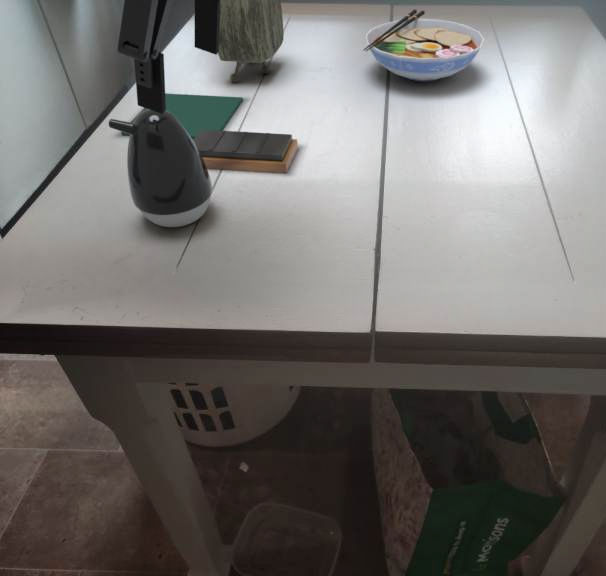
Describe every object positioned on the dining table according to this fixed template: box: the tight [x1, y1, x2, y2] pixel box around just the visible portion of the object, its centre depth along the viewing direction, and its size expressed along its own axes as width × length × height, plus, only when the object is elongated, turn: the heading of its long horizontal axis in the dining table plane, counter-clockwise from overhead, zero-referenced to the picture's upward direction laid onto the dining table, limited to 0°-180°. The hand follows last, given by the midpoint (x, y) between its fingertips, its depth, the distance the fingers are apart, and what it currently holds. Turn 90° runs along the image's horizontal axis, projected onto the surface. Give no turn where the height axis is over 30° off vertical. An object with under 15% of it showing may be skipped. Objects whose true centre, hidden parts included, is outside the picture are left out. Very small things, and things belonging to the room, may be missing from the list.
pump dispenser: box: [108, 109, 213, 228], centre depth 78 cm, size 10×10×15 cm
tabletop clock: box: [217, 0, 285, 83], centre depth 114 cm, size 14×9×25 cm, turn 171°
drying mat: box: [120, 93, 244, 139], centre depth 106 cm, size 16×16×1 cm
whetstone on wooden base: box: [193, 130, 299, 174], centre depth 95 cm, size 16×8×3 cm, turn 84°
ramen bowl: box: [362, 9, 485, 83], centre depth 119 cm, size 25×23×8 cm
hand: (181, 77), depth 68 cm, fingers open, 13 cm apart
